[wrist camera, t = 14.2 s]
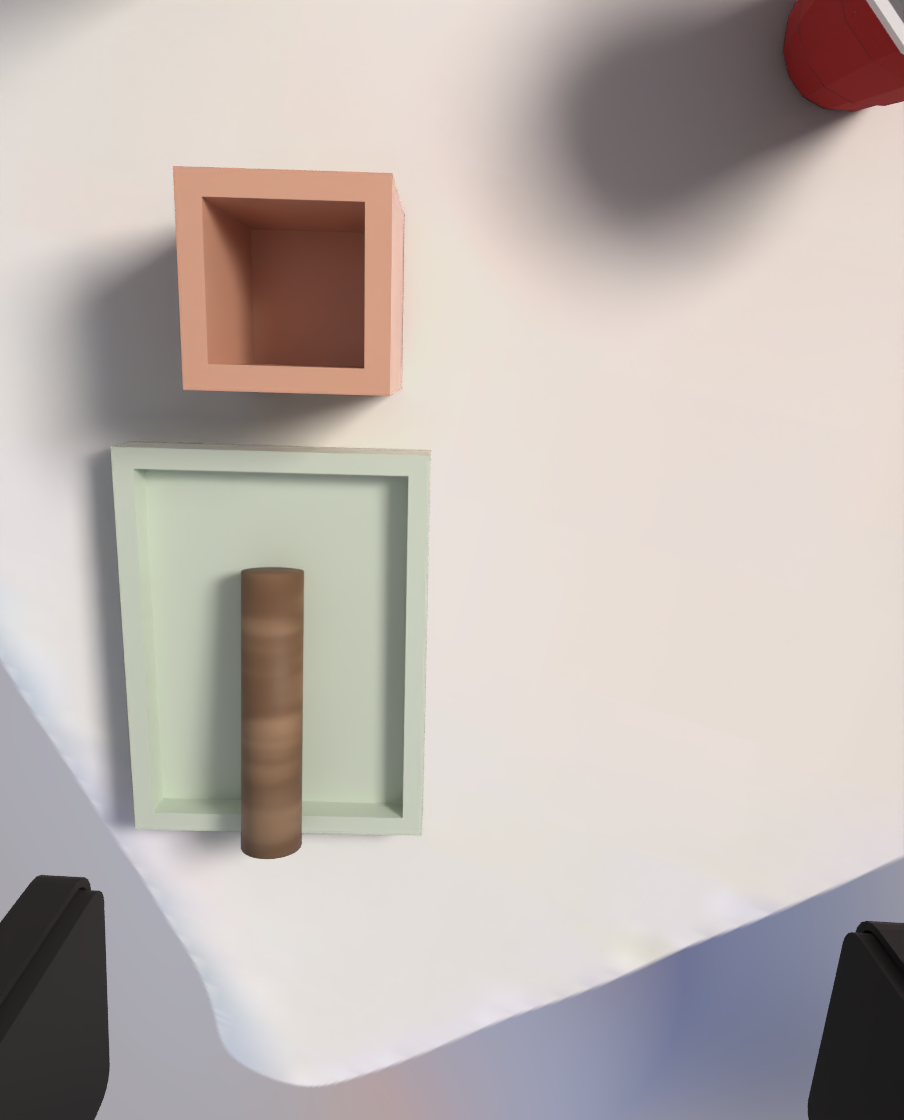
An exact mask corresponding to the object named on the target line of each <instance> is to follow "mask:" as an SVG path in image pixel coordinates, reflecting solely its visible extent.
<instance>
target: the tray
mask: <svg viewBox="0 0 904 1120" xmlns="http://www.w3.org/2000/svg"><path fill="white" fill-rule="evenodd" d="M111 463H112V478H113V493H114V509H115V524H116V539H117V554H118V570H119V585H120V600H121V616H122V631H123V646H124V662H125V677H126V692H127V707H128V723H129V738H130V753H131V769H132V784H133V799H134V814H135V829H136V830H182V831H228V832H241V571H242V570H244V569H249V568H259V567H286V568H296V569H301V570H303V571H304V636H303V744H302V833H321V834H367V835H413V836H421V835H422V815H423V777H424V733H425V689H426V645H427V601H428V557H429V513H430V469H431V450H406V449H370V448H335V447H299V446H263V445H227V444H191V443H156V442H127V443H123V444H119V445H116V446H112V447H111Z"/></svg>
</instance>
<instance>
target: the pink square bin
mask: <svg viewBox="0 0 904 1120" xmlns="http://www.w3.org/2000/svg"><path fill="white" fill-rule="evenodd" d="M173 178H174V200H175V222H176V245H177V267H178V289H179V312H180V334H181V356H182V379H183V390H205V391H240V392H274V393H309V394H344V395H378V396H391V395H392V394H394V393H395V392H397V391H398V390H400V389H401V388H402V343H403V274H404V212H403V208H402V205H401V201H400V198H399V194H398V191H397V187H396V184H395V180H394V177H393V173H368V172H337V171H306V170H276V169H245V168H214V167H183V166H173Z"/></svg>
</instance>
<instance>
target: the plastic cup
mask: <svg viewBox="0 0 904 1120" xmlns="http://www.w3.org/2000/svg"><path fill="white" fill-rule="evenodd" d="M783 52H784V57H785V61H786V66H787V70H788V75H789V78H790V79H791V80H792V82H793V83H794V85H795V86H796V87H797V89H798V90H799V92H800V93H801V95H802V96H803V97H804V98H806V99H808V100H809V101H811V102H813V103H815V104H816V105H818V106H820V107H822V108H823V109H832V110H846V111H857V110H861V109H864V108H868V107H872V106H876V105H880V106H886V105H890V104H894V103H898V102H902V101H904V0H797V1H796V3H795V5H794V7H793V9H792V11H791V13H790V15H789V17H788V23H787V28H786V35H785V42H784V49H783Z"/></svg>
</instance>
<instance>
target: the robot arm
mask: <svg viewBox="0 0 904 1120" xmlns="http://www.w3.org/2000/svg"><path fill="white" fill-rule="evenodd" d="M103 898H104V897H103V894H102V892H100V891H91V887H90V883H89V881H88V879H86V878H84V877H66V876H48V875H40V876H37V877H36V878H35V879H34V880H33V881H32V882H31V883H30V884H29V886H28V887H27V888H26V890H25V891H24V892H23V893H22V895H21V896H20V898H19V899H18V900H17V901H16V903H15V904H14V905H13V907H12V908H11V909H10V911H9V912H8V913H7V915H6V916H5V917H4V919H3V920H2V921H1V922H0V1120H94V1119H95V1117H96V1115H97V1112H98V1110H99V1108H100V1106H101V1103H102V1101H103V1098H104V1095H105V1091H106V1088H107V1083H108V1077H109V1066H110V1065H109V1064H110V1063H109V1036H108V1035H109V1034H108V1006H107V1005H108V1004H107V976H106V975H107V974H106V945H105V916H104V899H103ZM808 1117H809V1120H904V923H891V922H874V921H865V922H861V924H860V925H859V926H858V927H857V930H856V932H855V933H853V932H852V933H848V934H847V935H846V937H845V938H844V941H843V945H842V950H841V954H840V959H839V963H838V968H837V972H836V977H835V981H834V986H833V990H832V995H831V999H830V1004H829V1008H828V1013H827V1017H826V1022H825V1027H824V1032H823V1036H822V1040H821V1045H820V1049H819V1054H818V1058H817V1063H816V1067H815V1072H814V1076H813V1081H812V1085H811V1090H810V1095H809V1099H808Z"/></svg>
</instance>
